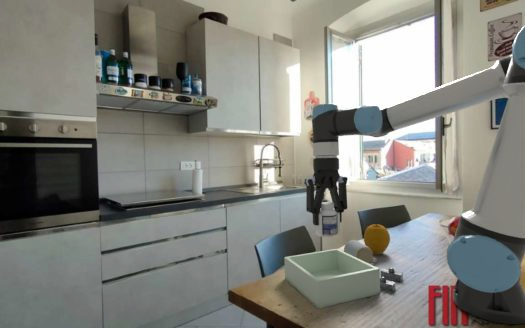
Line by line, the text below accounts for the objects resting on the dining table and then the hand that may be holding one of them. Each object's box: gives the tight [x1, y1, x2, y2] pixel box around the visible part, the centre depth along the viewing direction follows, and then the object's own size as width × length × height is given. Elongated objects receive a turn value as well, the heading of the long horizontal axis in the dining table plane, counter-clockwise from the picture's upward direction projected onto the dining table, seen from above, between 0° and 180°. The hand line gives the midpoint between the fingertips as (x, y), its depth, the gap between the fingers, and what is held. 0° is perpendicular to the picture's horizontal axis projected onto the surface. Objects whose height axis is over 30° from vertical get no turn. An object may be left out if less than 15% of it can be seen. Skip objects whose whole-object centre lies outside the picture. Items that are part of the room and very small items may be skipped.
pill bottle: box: [319, 201, 338, 238], centre depth 86 cm, size 5×5×10 cm
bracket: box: [380, 267, 404, 293], centre depth 87 cm, size 11×6×3 cm, turn 140°
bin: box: [283, 248, 381, 310], centre depth 86 cm, size 20×20×7 cm
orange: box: [363, 223, 391, 256], centre depth 113 cm, size 10×10×12 cm
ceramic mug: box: [343, 239, 378, 264], centre depth 104 cm, size 11×8×8 cm
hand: (327, 234), depth 86 cm, fingers closed on pill bottle, 5 cm apart
